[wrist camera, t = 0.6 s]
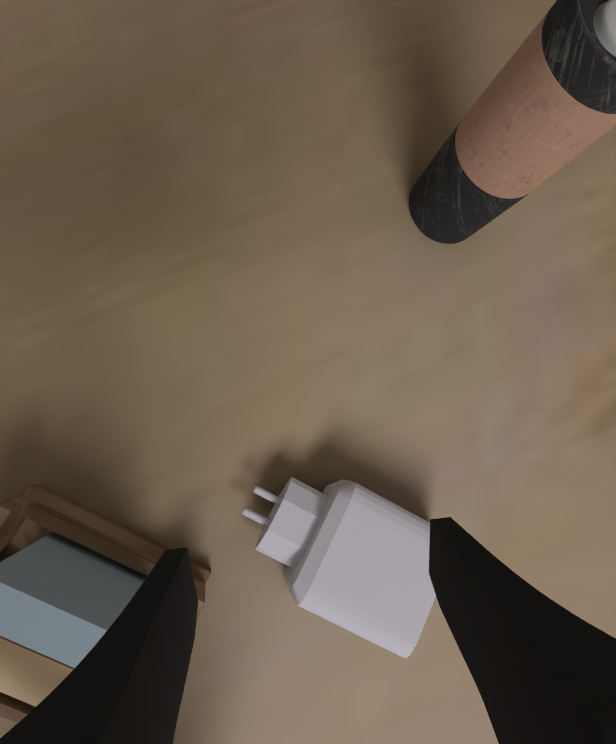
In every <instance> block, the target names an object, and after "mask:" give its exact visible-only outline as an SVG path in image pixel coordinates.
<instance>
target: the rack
mask: <svg viewBox="0 0 616 744" xmlns="http://www.w3.org/2000/svg"><path fill="white" fill-rule="evenodd" d="M52 532H54V533H56V534H58V535H60V536H62V537H64V538H67V539H69V540H71V541H73V542H75V543H77V544H79V545H81V546H84V547H86V548H88V549H90V550H92V551H94V552H96V553H98V554H101V555H103V556H105V557H107V558H109V559H111V560H113V561H115V562H118V563H120V564H122V565H124V566H126V567H128V568H130V569H132V570H135V571H137V572H139V573H141V574H143V575H145V576H148V575H149V573H150V572H151V570H152V569H153V567H154V566H155V564H156V563H157V561H158V560H159V558H160V557H161V555H162V554H163V553H164V552H165V550H170V549H168V548H166V547H164V546H162V545H160V544H158V543H156V542H154V541H152V540H150V539H148V538H146V537H143V536H141V535H139V534H137V533H135V532H133V531H131V530H129V529H127V528H125V527H123V526H121V525H118V524H116V523H114V522H112V521H110V520H108V519H106V518H104V517H102V516H100V515H98V514H96V513H94V512H91V511H89V510H87V509H85V508H83V507H81V506H79V505H77V504H75V503H73V502H71V501H69V500H67V499H64V498H62V497H60V496H58V495H56V494H54V493H52V492H50V491H48V490H46V489H44V488H42V487H40V486H37V485H35V484H32V485H29V486H28V487H27V489H26V490H25V492H24V493H23V495H22V496H20V497H17V498H14V499H10V500H7V501H3V502H0V562H2V561H3V560H5V559H7V558H9V557H10V556H12V555H14V554H15V553H17V552H19V551H21V550H22V549H24V548H26V547H28V546H29V545H31V544H33V543H35V542H36V541H38V540H40V539H41V538H43V537H45V536H47V535H48V534H50V533H52ZM189 560H190V565H191V569H192V574H193V579H194V583H195V588H196V593H197V598H198V609H197V617H198V615H199V613H200V611H201V609H202V607H203V605H204V603H205V583H206V581H207V579H208V577H209V575H210V573H211V569H210V568H208V567H206V566H204V565H202V564H200V563H197V562H195V561H193V560H191V559H189ZM34 708H35V706H33V705H30V704H28V703H26V702H23V701H21V700H18V699H16V698H14V697H11V696H9V695H7V694H4V693H2V692H0V716H2V717H5V718H7V719H10V720H12V721H15V722H17V723H19V722H20V721H21V720H22V719H23V718H24V717H26V716H27V715H28V714H29V713H30V712H31V711H32V710H33V709H34Z"/></svg>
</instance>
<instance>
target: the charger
mask: <svg viewBox="0 0 616 744" xmlns="http://www.w3.org/2000/svg"><path fill="white" fill-rule="evenodd" d="M253 492H254V493H256V494H258V495H260V496H262V497H263V498H265V499H267V500H269V501H271V502H273V503H275V504H274V506H273V508H272V510H271V512H270V514H269V516H268V518H265V517H263V516H261V515H259V514H257V513H255V512H254V511H252V510H250V509H248V508H246V507H245V508H243V510H242V514H243V515H245V516H247V517H249V518H250V519H252V520H254V521H256V522H258V523H260V524H262V525H264V526H263V529H262V531H261V534H260V536H259V539H258V541H257V544H256V547H255V549H256V550H258V551H260V552H261V553H263V554H265V555H267V556H269V557H271V558H273V559H275V560H277V561H279V562H281V563H283V564H285V565H287V567H286V570H285V576H286V579H287V583H288V586H289V590H290V592H291V594H292V596H293V598H294V600H295V602H296V604H297V605H298V606H300V607H302V608H304V609H306V610H308V611H310V612H312V613H314V614H316V615H318V616H320V617H322V618H324V619H326V620H328V621H330V622H332V623H334V624H336V625H338V626H340V627H342V628H344V629H346V630H348V631H350V632H353V633H355V634H357V635H359V636H361V637H363V638H365V639H367V640H369V641H371V642H373V643H375V644H377V645H379V646H381V647H383V648H385V649H387V650H389V651H391V652H393V653H395V654H397V655H399V656H401V657H403V658H407V657H409V655H410V654H411V653H412V651H413V650H414V648H415V646H416V644H417V642H418V639H419V637H420V635H421V632H422V630H423V627H424V625H425V622H426V620H427V617H428V614H429V612H430V609H431V607H432V604H433V602H434V599H435V597H436V594H435V591H434V588H433V585H432V582H431V579H430V575H429V544H430V522H428V521H426V520H424V519H422V518H420V517H419V516H417V515H415V514H413V513H411V512H409V511H407V510H406V509H404V508H402V507H400V506H398V505H396V504H394V503H393V502H391V501H389V500H387V499H385V498H383V497H381V496H380V495H378V494H376V493H374V492H372V491H370V490H368V489H367V488H365V487H363V486H361V485H359V484H357V483H356V482H352V481H349V480H345V479H342V480H339V481H336V482H334V483H331V484H328V485H327V486H326V487H325V489H324V491H323V493H321V492H319V491H318V490H316V489H314V488H312V487H310V486H308V485H306V484H304V483H303V482H301V481H299V480H297V479H295V478H293V477H291V478H290V479H289V481H288V482H287V484H286V485H285V487H284V488H283V490H282V492H281V493H280V495H279V496H276V495H274V494H272V493H270V492H268V491H266V490H264V489H262V488H260V487H258V486H255V487H254V489H253Z"/></svg>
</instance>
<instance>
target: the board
mask: <svg viewBox="0 0 616 744" xmlns="http://www.w3.org/2000/svg"><path fill="white" fill-rule="evenodd" d="M146 578H147V576H145V575H143V574H141V573H139V572H137V571H135V570H132V569H130V568H128V567H126V566H124V565H122V564H120V563H118V562H115V561H113V560H111V559H109V558H107V557H105V556H103V555H101V554H98V553H96V552H94V551H92V550H90V549H88V548H86V547H84V546H81V545H79V544H77V543H75V542H73V541H71V540H69V539H67V538H64V537H62V536H60V535H58V534H56V533H54V532H52V533H50V534H48V535H47V536H45V537H43V538H41V539H40V540H38V541H36V542H35V543H33V544H31V545H29V546H28V547H26V548H24V549H22V550H21V551H19V552H17V553H15V554H14V555H12V556H10V557H9V558H7V559H5V560H3V561H2V562H0V636H2V637H4V638H7V639H9V640H11V641H14V642H16V643H18V644H20V645H23V646H25V647H27V648H30V649H32V650H34V651H36V652H39V653H41V654H43V655H46V656H48V657H50V658H52V659H55V660H57V661H59V662H62V663H64V664H66V665H69V666H71V667H73V668H75V667H76V666H77V665H78V664H79V663H80V662H81V661H82V660H83V658H84V657H85V656H86V655H87V654H88V653H89V652H90V650H91V649H92V648H93V647H94V646H95V645H96V643H97V642H98V641H99V640H100V639H101V637H102V636H103V635H104V634H105V632H106V631H107V630H108V629H109V627H110V626H111V625H112V624H113V622H114V621H115V620H116V619H117V617H118V616H119V615H120V614H121V612H122V611H123V610H124V608H125V607H126V605H127V604H128V603H129V601H130V600H131V599H132V597H133V596H134V595H135V593H136V592H137V590H138V589H139V588H140V586H141V585H142V583H143V582H144V580H145V579H146Z"/></svg>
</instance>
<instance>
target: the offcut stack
mask: <svg viewBox="0 0 616 744" xmlns="http://www.w3.org/2000/svg"><path fill="white" fill-rule="evenodd" d="M73 669H74V668H73V667H71V666H69V665H66V664H64V663H62V662H59V661H57V660H55V659H52V658H50V657H48V656H46V655H43V654H41V653H39V652H36V651H34V650H32V649H30V648H27V647H25V646H23V645H20V644H18V643H16V642H14V641H11V640H9V639H7V638H4V637H2V636H0V692H2V693H4V694H7V695H9V696H11V697H14V698H16V699H18V700H21V701H23V702H26V703H28V704H30V705H33V706H35V707H36V706H37V705H38V704H39V703H40V702H41V701H42V700H43V699H45V698H46V697H47V696H48V695H49V694H50V693H51V692H52V691H53V690H54V689H55V688H56V687H57V686H58V685H59V684H60V683H61V682H62V681H63V680H64V679H65V678H66V677H67V676H68V675H69V674H70V673H71V671H72V670H73Z"/></svg>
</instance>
